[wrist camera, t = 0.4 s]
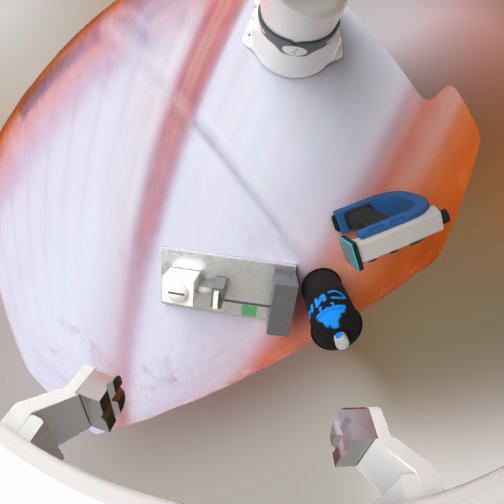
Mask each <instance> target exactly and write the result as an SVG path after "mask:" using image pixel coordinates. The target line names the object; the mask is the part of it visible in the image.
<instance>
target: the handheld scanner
mask: <svg viewBox="0 0 504 504" xmlns="http://www.w3.org/2000/svg"><path fill="white" fill-rule="evenodd" d="M333 213H334V215H333V216H332V221H333V224H334V227H335V230H337V231H338V232H339V231H340V232H341V233H342V234H344V233H347V232H349V231H352V230H355V229H356V230H357V231H356V234H357V237H358V238H357V239H350V238H348V237H346V236H345V235H343V236H341V237H340V243H341V246H342V249H343V252H344V255H345V258H346V261H347V262H348V263H349V264H351V265H352V266H353V267H354V268H355V269H357V270H358V271H361V270H363V269H364V267H363V263H365V262H372V261H374V260H377V258H378V257H380V256H382V255H385V254H387V253H391V254H392V253H394V252H397V249H399V248H402V247H404V246H407V245H409V244H410V245H413V244H416V243H418V242H420V241H421V240H423V239H425V238H426V237H428V236H430V235H432V234H434V233H436V232H439V231H441V230H443V229H444V226H443V224H445V223H447V222H449V221H450V216H449V213H448V211H447V210H446V209H443V210H441V209H437V208H436V207H435V206H434V205H432V206H429V202H428V200H427V199H426V198H424V197H422V196H420V195H417V194H414V193H410V192H404V191H395V192H388V193H383V194H379V195H375V196H372V197H370V198H367V199H364V200H362V201H359V202H356V203H354V204H351V205H349V206H346V207H343V208H341V209H338V210H336V211H333ZM391 216H393V217H391Z"/></svg>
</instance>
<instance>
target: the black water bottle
mask: <svg viewBox="0 0 504 504" xmlns="http://www.w3.org/2000/svg"><path fill="white" fill-rule="evenodd" d="M301 289H302V295H303V297H304V298H305V302H306V306H307V311H308V315H309V320H310V324H311V337H312V339H313V341H314V342H315V343H316V344H317V345H318V346H319V347H321V348H323V349H326V350H343V349H346V348H347V347H348V346H349V345H351V344H352V343H353V342H354V341H355V340H356V339H357V338H358V337H359V335H360V333H361V330H362V318H361V315H360V314H359V312H358V311H357V310H356V309H355V308H354V306H353V304H352V302H351V300H350V298H349V296H348V294H347V293H346V291H345V289H344V287H343V285H342V283H341V279H340V277H339V276H338V274H337V273H336V272H334V271H333V270H331V269H327V268H319V269H316V270H313V271H312V272H310V273H309V274H308V275H307V276H306V277H305V279H304V280H303V283H302V287H301Z"/></svg>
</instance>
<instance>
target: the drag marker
mask: <svg viewBox="0 0 504 504" xmlns="http://www.w3.org/2000/svg"><path fill="white" fill-rule="evenodd" d="M226 283H227V278H222V277H216V279H215V281H214V284H213V286H212V291H211V305H210V307H213V309H217V308H219V309H221V308H222V305H223V302H224V299H225V293H226Z"/></svg>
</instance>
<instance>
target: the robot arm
mask: <svg viewBox="0 0 504 504" xmlns="http://www.w3.org/2000/svg"><path fill="white" fill-rule="evenodd" d="M347 1H348V0H255V3H254V8H255V11H254V13H252V16H251V20H250V22H249V24H248V26H247V29H246V31H245V33H244V36H243V39H242V42H243V44H244V45H245V46H246V47H248V48H249V49H251V50H252V51H253V52H254V53H255V54H256V56H257V57H258V59H259V61H260V62H261V63H262V64H263V65H264V66H265V67H266V68H267V69H269V70H270V71H272V72H273V73H275V74H278V75H280V76H283V77H288V78H305V77H309V76H312V75H314V74H316V73H318V72H320V71H321V70H322V69H323V68H324V67H325V66H326V65H327V64H329V63H330V62H333V61H336V60H339V59H341V58H342V56H343V47H342V41H341V35H340V30H339V24H340V17H341V15H342V13H343V11H344V9H345V7H346V5H347ZM249 35H250V36H249ZM121 384H122V380H121V377H120V376H119V375H116V374H113V373H110V372H107V371H104V370H101V369H98V368H95V367H92V366H90V365H87V364H86V365H84V366H82V368H81V369H80V370H79V371H78V373H77V374H76V375H75V376H74V377H73V379H72V380H71V381H70V382H69V384H68V385H67V386H66V387H65V389H64V388H62V387H61V388H59V389H56V390H53V391H50V392H47V393H45V394H42V395H39V396H36V397H33V398H30V399H27V400H24V401H21V402H18V403H16V404H15V405H14V406H13V407H12V408H11V410H10V411H9V412H8V413H7V414H6V415H5V417H4V418H3V419H2V420H1V422H0V504H183V503H178V502H174V501H170V500H166V499H162V498H158V497H155V496H151V495H148V494H145V493H141V492H138V491H135V490H132V489H129V488H126V487H123V486H120V485H118V484H114V483H112V482H109V481H107V480H105V479H102V478H100V477H97V476H95V475H92V474H90V473H88V472H86V471H83V470H81V469H79V468H77V467H74V466H73V465H70V464H69V463H66V462H65V461H63V459H64V457H63V454H62V453H61V451H60V450H59V448H58V445H60V444H62V443H64V442H66V441H67V440H69V439H71V438H73V437H74V436H76V435H78V434H79V433H81V432H83V431H85V430H86V429H88V428H90V427H91V426H93V427H96V428H98V429H101V430H104V431H107V432H110V431H111V429H112V427H113V426H114V424H115V422H116V418H115V415H117V414H119V413H121V411H122V409H123V406H124V402H125V394H124V391H123V389H122V388H121V387H120V386H121ZM330 438H331V444H332V445H333V446H334V447H335V450H334V452H333V458H334V464H335V467H339V466H356V468H357V469H358V470H359V471H360V472H361V473H362V474H363V475H364V477H365V478H366V479H367V480H368V481H369V482H370V483H371V484H372V486H373V487H374V488H375V489H376V490H377V491H378V492H379V493H380V494H381V495H382V496H381V497H380V498H379V499H378V500H377V501H376V502H375V503H373V504H504V466H503V467H500V468H499V469H497V470H495V471H493V472H490V473H488V474H486V475H484V476H481V477H479V478H477V479H474V480H472V481H469V482H467V483H465V484H462V485H459V486H456V487H454V488H451V489H448V490H445V491H444V489H443V486H442V484H441V481H440V478H439V476H438V473H437V471H436V468H435V467H434V466H433V465H431V464H430V463H429V462H427V461H426V460H425V459H423V458H422V457H421V456H419V455H418V454H417V453H415V452H414V451H412V450H411V449H410V448H409V447H407V446H406V445H405V444H403V443H402V442H401V441H399V440H398V439H397V438H396V437H391V434H390V432H389V429H388V426H387V424H386V421H385V419H384V416H383V413H382V411H381V408H379V407H367V408H365V407H363V408H362V407H361V408H341V410H340V411H339V413H338V420H336V421H335V422H334V423H333V426H332V428H331V434H330Z"/></svg>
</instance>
